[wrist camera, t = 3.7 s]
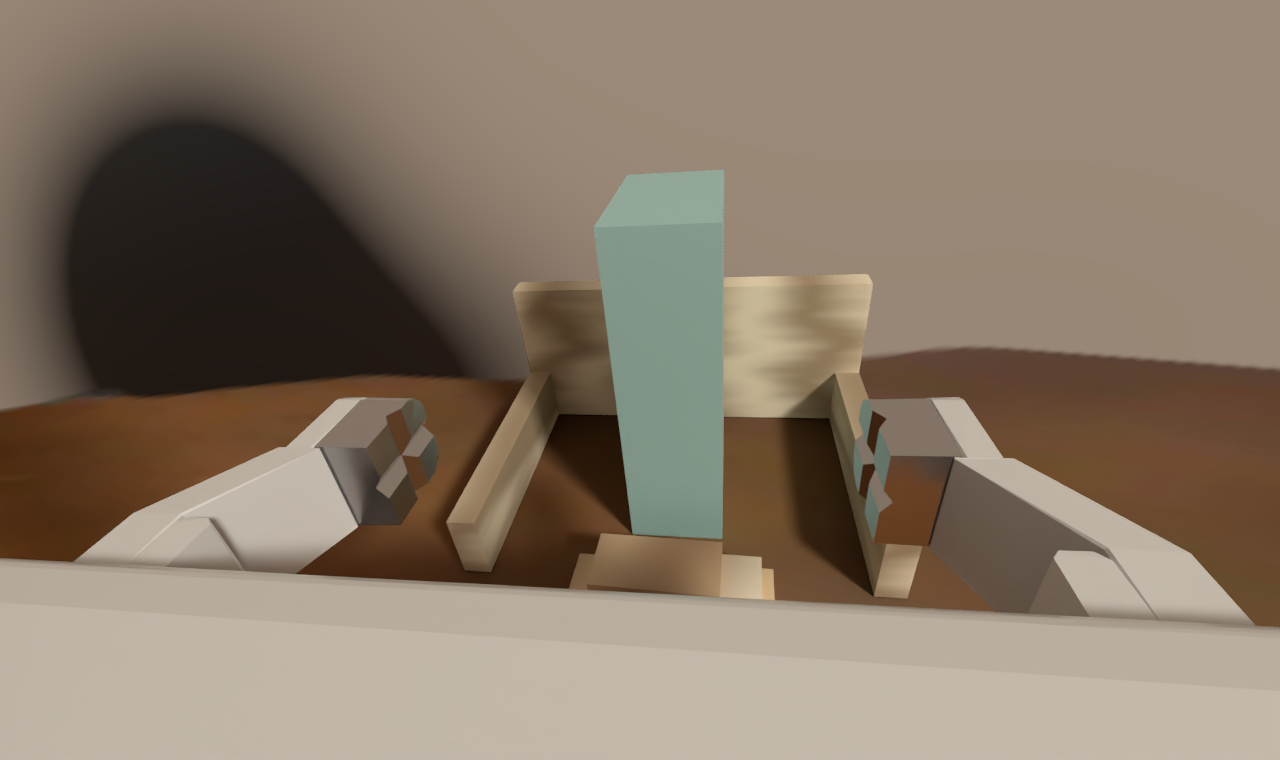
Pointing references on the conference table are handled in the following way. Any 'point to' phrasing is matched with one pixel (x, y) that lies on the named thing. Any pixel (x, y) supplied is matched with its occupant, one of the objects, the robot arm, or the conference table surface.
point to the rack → (753, 387)
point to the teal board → (668, 346)
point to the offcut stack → (671, 569)
